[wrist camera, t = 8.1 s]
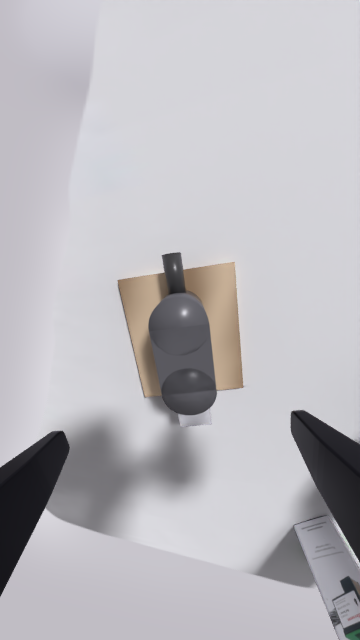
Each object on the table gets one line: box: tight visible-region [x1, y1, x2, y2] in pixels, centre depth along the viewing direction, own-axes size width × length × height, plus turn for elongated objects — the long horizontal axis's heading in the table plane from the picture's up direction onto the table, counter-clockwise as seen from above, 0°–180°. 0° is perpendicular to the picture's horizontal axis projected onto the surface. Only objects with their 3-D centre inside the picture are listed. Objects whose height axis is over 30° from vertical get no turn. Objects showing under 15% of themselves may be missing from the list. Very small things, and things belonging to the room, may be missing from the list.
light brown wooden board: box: [118, 262, 243, 397], centre depth 17 cm, size 10×12×1 cm
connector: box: [148, 253, 217, 427], centre depth 15 cm, size 4×15×4 cm, turn 8°
